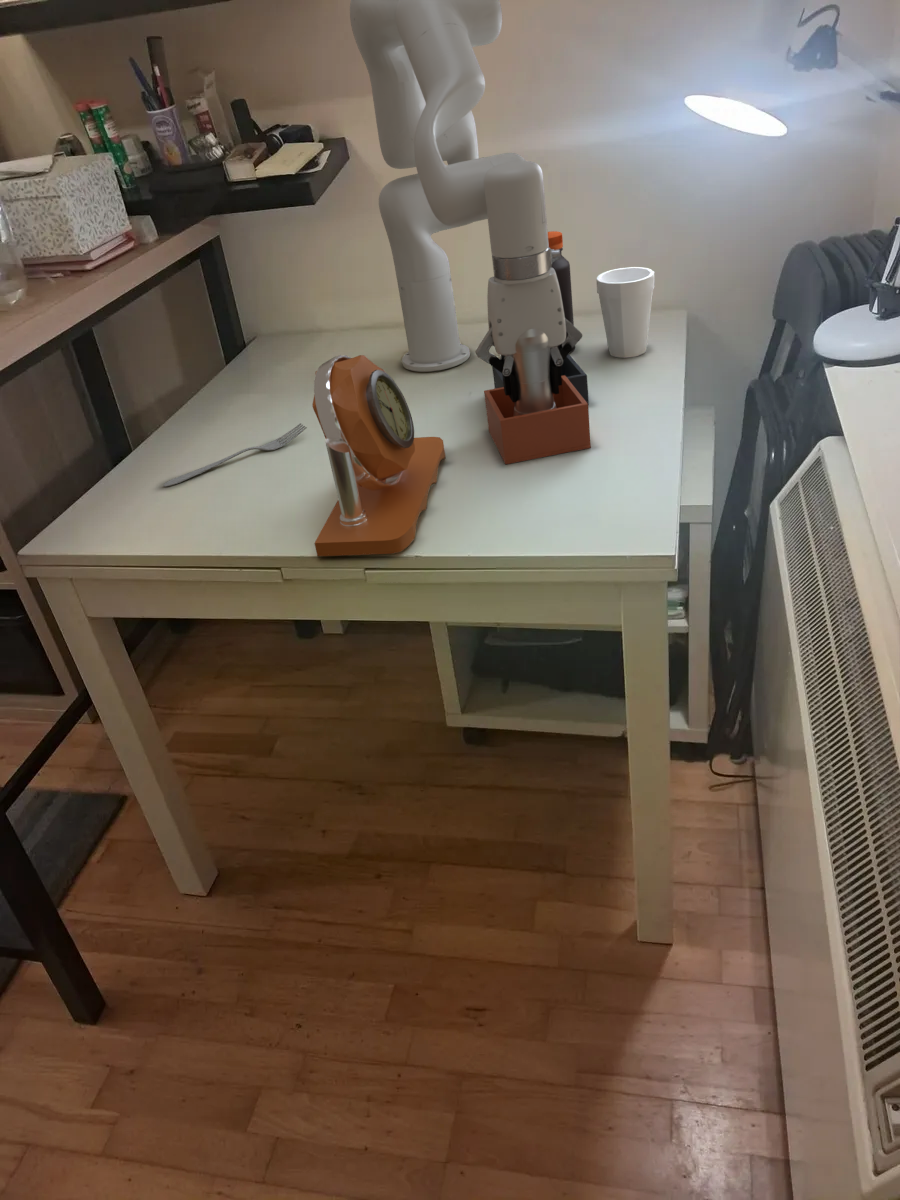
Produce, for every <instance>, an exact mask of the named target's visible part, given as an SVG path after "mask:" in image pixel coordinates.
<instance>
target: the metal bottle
mask: <svg viewBox="0 0 900 1200" xmlns="http://www.w3.org/2000/svg"><path fill="white" fill-rule="evenodd" d="M548 345H549V342H548V337H547V336H546V334H545V333H544V332H542V331H540V330H538V329H529V330H527V331H525V332H524V333H523V334H522V335H521V336H520V337H519V338H518V340H517V342H516V345H515V346H516V350H515V351H516V353H515V354H513V359H514V361H513V365H512V372H513V373H514V375H515V378H516V388H517V398H518V401H517V402H515V407H514V416H519V415H524V414H529V413H535V412H540V411H545V410H550V409H555V408H556V404H555V402H554V397H553V391H552V385H551V374H550V347H548Z"/></svg>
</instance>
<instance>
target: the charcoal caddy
mask: <svg viewBox="0 0 900 1200" xmlns="http://www.w3.org/2000/svg"><path fill="white" fill-rule="evenodd" d="M491 367H492V375H493V376H492V377H493V385H494V389H496V388H501V387H504V385H503V376H502V373H501V372H500V371H498V370H497V369H495V368H494V367H493V366H491ZM564 375H565V376H566V377H567V378H568V380H569V381H570V382H571V383H572V385H573V386H574V387H575V388H576V390H577V391H578V392H579V393H580V395H581V396H582V397H583V398H584V400H585V401H586V402H587V403H588V407H589V406H590V401H589V388H588V387H589V386H588V375H587V373H586V371H584V370H583V369H582V368H581V366H580V365H579V363H577V362H576V360H575V359H574V358H573V357H572V356H571V355H570V353H569V354H568V355H567V357H566V358H565V359H564V360H563V364H562V365H561V376H564Z"/></svg>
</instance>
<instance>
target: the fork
mask: <svg viewBox="0 0 900 1200" xmlns="http://www.w3.org/2000/svg"><path fill="white" fill-rule="evenodd" d="M307 428H308V427H307V426H305V425H304V424H302V423H299V424H297V425H295V427H293V428H292V429H290V430H289V431H287V432H286V433H284V434H283V435H281V436H279V437H278V438H275V439H273V440H271V441H270V442H268V443H266V444H263V445H258V446H251V447H246V448H245V449H241V450H239V451H237V452H235V453H233V454H230V455H229V456H226V457H224V458H221V459H220V460H217V461H214V462H212V463H210V464H207V465H205V466H203V467H199V468H197V469H195V470H192V471H190V472H186V473H184V474H181V475H179V476H176V477H174V478H171V479H169V480H168V481H165V482H164V483H163V485H162V486H163V487H164V488H165V487H166V488H169V487H171V486H174V485H179V484H180V483H182V482H185V481H187V480H189V479H191V478H194V477H196V476H198V475H200V474H202V473H205V472H207V471H209V470H212V469H213V468H215V467H218V466H220V465H221V464H223V463H225V462H227V461H230V460H231V459H233V458H235V457H237V456H239V455H241V454H243V453H246V452H248V451H251V450H253V451H254V450H261V451H275V450H278V449H280V448H282V447H284V446H285V445H287V444H288V443H290V442H292V441H293V440H294V439H295V438H296V437H298V436H299V435H301V434H302V433H303V432H304V431H305V430H306V429H307Z"/></svg>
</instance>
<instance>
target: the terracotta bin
mask: <svg viewBox="0 0 900 1200" xmlns="http://www.w3.org/2000/svg"><path fill="white" fill-rule="evenodd" d="M561 377H562V385H560V386H559V394H554V393H553V397H554V402H555V404H556V408H555V409H550V410H545V411H540V412H535V413H529V414H524V415H519V416H514V407H515V402H512V400H511V399H510V397H509V395H508V396H506V395H505V392H504V387H501V388H496V389H495V388H491V389H486V390H483V396H484V403H485V411H486V420H487V428H488V433H489V435H490V437H491V439H492V441H493V443H494V445H495V447H496V448H497V451H498V453H499V455H500V457H501V458H502V461H503V463H504V464H505V465H511V464H515V463H520V462H526V461H531V460H535V459H541V458H546V457H551V456H556V455H560V454H567V453H571V452H576V451H582V450H587V449H591V447H592V445H591V429H590V428H591V427H590V411H589V406H588V403H587V402H586V401H585V400H584V398H583V397H582V396H581V395H580V393H579V392H578V391H577V390H576V388H575V387H574V386H573V385H572V383H571V382H570V381H569V380H568V378H567V377H566V376H565V375H564V376H561Z"/></svg>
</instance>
